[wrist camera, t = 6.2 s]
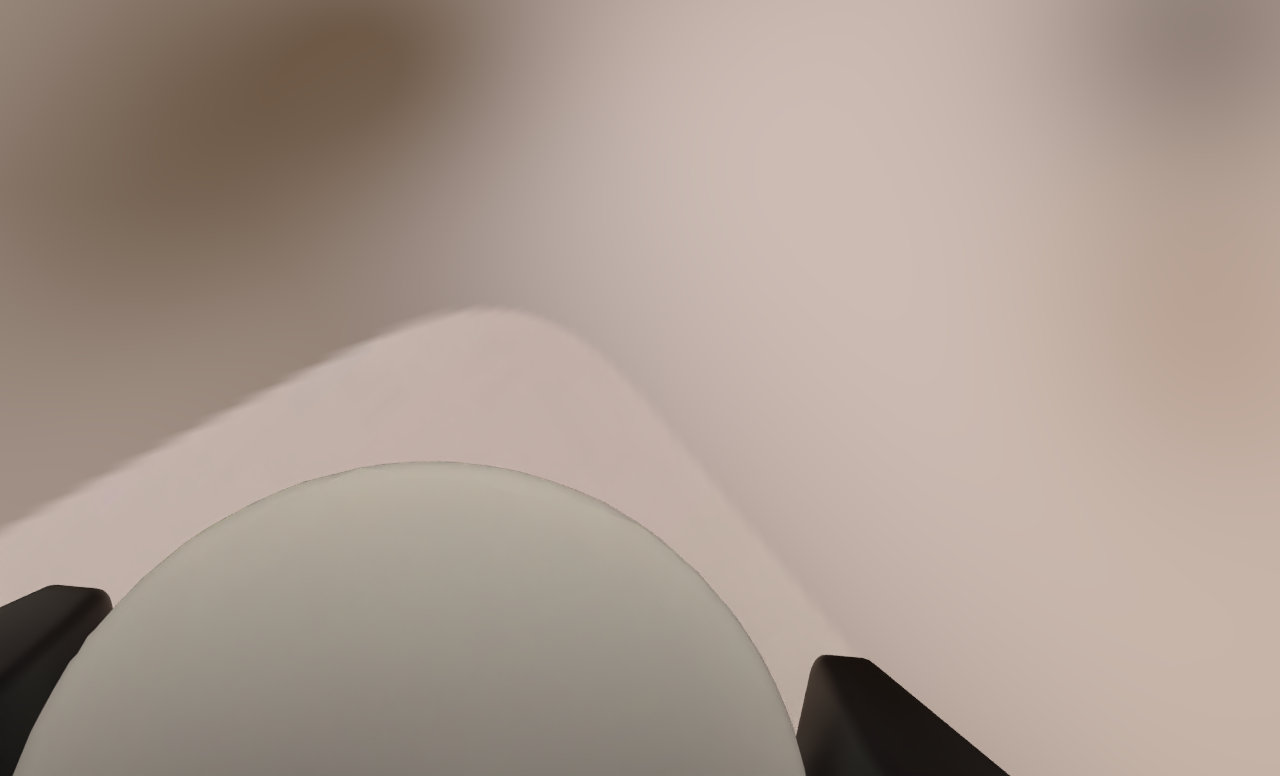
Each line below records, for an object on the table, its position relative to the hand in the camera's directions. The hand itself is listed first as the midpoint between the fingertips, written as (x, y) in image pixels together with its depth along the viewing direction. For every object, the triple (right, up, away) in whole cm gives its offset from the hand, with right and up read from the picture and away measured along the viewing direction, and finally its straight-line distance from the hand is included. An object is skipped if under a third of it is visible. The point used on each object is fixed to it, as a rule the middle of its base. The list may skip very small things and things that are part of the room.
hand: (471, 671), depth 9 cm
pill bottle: (-1, -4, +6) cm, 7 cm away
